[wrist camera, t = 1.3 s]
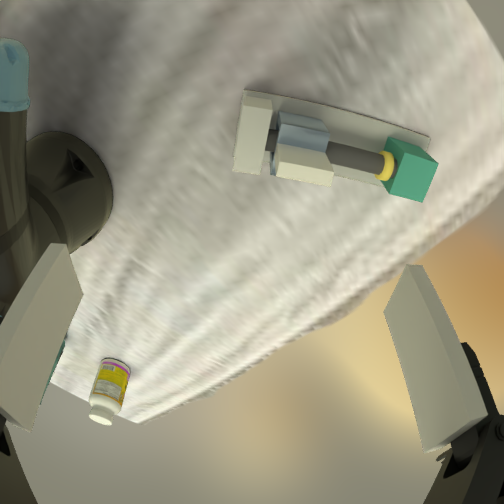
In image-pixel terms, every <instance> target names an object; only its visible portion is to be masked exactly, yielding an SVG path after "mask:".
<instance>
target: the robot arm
mask: <svg viewBox="0 0 504 504" xmlns="http://www.w3.org/2000/svg"><path fill="white" fill-rule="evenodd" d="M28 75H29V55H28V52H27V49H26V48H25V47H24V45H23V44H21V43H20V42H18V41H17V40H13V39H8V38H0V504H38V503H37V501H36V499H35V497H34V495H33V492H32V491H31V488H30V486H29V484H28V481H27V479H26V477H25V474H24V472H23V469H22V467H21V464H20V462H19V459H18V457H17V454H16V451H15V448H14V445H13V443H12V440H11V437H10V434H9V431H8V429H7V427H6V425H5V422H6V419H7V420H8V421H9V422H10V423H12V424H13V425H14V426H15V427H18V428H20V429H23V430H26V431H28V432H31V431H32V428H33V424H34V421H35V418H36V415H37V411H38V408H39V405H40V402H41V399H42V396H43V393H44V390H45V387H46V384H47V382H48V379H49V376H50V373H51V371H52V368H53V365H54V363H55V360H56V357H57V355H58V352H59V350H60V347H61V345H62V342H63V340H64V338H65V335H66V333H67V330H68V328H69V326H70V323H71V321H72V319H73V317H74V314H75V312H76V310H77V308H78V305H79V303H80V301H81V299H82V297H83V292H82V289H81V287H80V284H79V281H78V278H77V275H76V273H75V270H74V267H73V264H72V261H71V258H70V255H69V254H71V253H73V252H74V251H75V250H77V249H78V248H79V247H80V246H83V245H85V244H87V243H88V242H90V241H91V240H92V239H94V238H95V237H96V236H97V234H98V233H99V232H100V230H101V229H102V227H103V226H104V225H105V223H106V221H107V220H108V218H109V215H110V213H111V209H112V201H113V194H112V187H111V182H110V179H109V176H108V173H107V171H106V169H105V167H104V165H103V163H102V162H101V160H100V159H99V157H98V156H97V155H96V153H95V152H94V151H93V150H92V149H91V148H90V147H89V146H88V145H87V144H85V143H84V142H83V141H81V140H80V139H78V138H76V137H74V136H72V135H70V134H67V133H63V132H46V133H42V134H40V135H38V136H36V137H34V138H33V139H31V140H30V141H28V142H27V143H26V125H27V109H28V108H29V106H30V98H29V97H28ZM384 315H385V318H386V321H387V324H388V327H389V330H390V333H391V336H392V339H393V342H394V345H395V348H396V351H397V354H398V358H399V361H400V364H401V368H402V371H403V374H404V378H405V381H406V384H407V388H408V392H409V395H410V399H411V402H412V406H413V410H414V414H415V418H416V422H417V426H418V430H419V434H420V439H421V443H422V448H423V452H424V453H427V452H430V451H434V450H438V449H441V448H443V447H444V446H446V445H447V444H449V443H451V447H452V448H450V449H449V450H447V451H445V452H444V453H442V454H441V455H440V456H438V458H437V459H436V461H439V460H441V459H443V458H445V459H444V461H442V462H441V463H442V466H441V469H440V471H439V473H438V475H437V477H436V479H435V481H434V483H433V486H432V488H431V490H430V492H429V493H428V495H427V497H426V499H425V501H424V503H423V504H504V415H500V414H499V412H498V410H497V408H496V405H495V402H494V399H493V397H492V394H491V391H490V389H489V386H488V383H487V381H486V378H485V377H484V373H483V371H482V368H481V367H480V363H479V361H478V359H477V356H476V354H475V352H474V351H473V350H472V349H471V347H470V346H469V345H468V344H467V342H464V343H460V341H459V339H458V336H457V334H456V332H455V330H454V328H453V325H452V323H451V321H450V319H449V317H448V315H447V313H446V311H445V309H444V306H443V304H442V303H441V300H440V299H439V296H438V294H437V293H436V291H435V289H434V287H433V285H432V283H431V281H430V279H429V278H428V275H427V273H426V272H425V270H424V268H423V266H422V265H409V264H406V267H405V269H404V271H403V273H402V275H401V277H400V280H399V282H398V284H397V286H396V288H395V290H394V292H393V294H392V296H391V298H390V300H389V302H388V304H387V306H386V308H385V310H384Z"/></svg>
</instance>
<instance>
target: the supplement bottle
mask: <svg viewBox="0 0 504 504" xmlns="http://www.w3.org/2000/svg"><path fill="white" fill-rule="evenodd" d="M129 377H130V370H129V368H128V367H127V366H126V365H125V364H123V363H122V362H120V361H117V360H114V359H104V360H102V361H101V363H100V366H99V369H98V372H97V375H96V378H95V381H94V384H93V387H92V390H91V393H90V396H89V403H90V405H91V406H92V409H91V411H90V414H89V417H90V418H91V419H92V420H94V421H96V422H98V423H101V424H104V425H112V422H113V415H115V414H118V413H119V412H120V411H121V407H122V403H123V399H124V395H125V391H126V388H127V384H128V380H129Z"/></svg>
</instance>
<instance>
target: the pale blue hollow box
mask: <svg viewBox="0 0 504 504" xmlns="http://www.w3.org/2000/svg"><path fill="white" fill-rule="evenodd" d="M275 130H279V133H278V137H277V142H276V147H275V152H270V174H271V175H274V176H276V177H281V178H287V179H292V180H298V181H303V182H308V183H313V184H318V185H323V186H328V187H330V186H331V182H332V179H333V176H334V173H335V172H334V170H333V168H332V166H331V164H330V162H329V159H328V157H327V155H326V153H325V152H326V148H327V144H328V141H329V137H330V132H329V131H328V129H327V128H326V126H325V125H324V123H323V122H322V120H320V119H316V118H312V117H307V116H302V115H298V114H293V113H288V112H283V111H279V113H278V117H277V122H276V127H275Z"/></svg>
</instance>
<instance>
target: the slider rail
mask: <svg viewBox="0 0 504 504" xmlns="http://www.w3.org/2000/svg"><path fill="white" fill-rule="evenodd" d="M279 111H283V112H288V113H293V114H298V115H302V116H307V117H312V118H316V119H320V120H322V122H323V123H324V125H325V126H326V128H327V129H328V131H329V132H330V137H329V141H328V144H327V148H326V152H325V153H326V155H327V157H328V159H329V162H330V164H331V166H332V168H333V170H334V172H335V173H334V176H339V177H343V178H348V179H352V180H357V181H361V182H365V183H369V184H373V185H377V186H381V187H385V188H386V190H387V191H388V193H389V194H392V195H396V196H400V197H404V198H407V199H411V200H415V201H419V202H423V200H424V198H425V195H426V193H427V191H428V188H429V186H430V184H431V181H432V179H433V177H434V174H435V172H436V169H437V167H438V163H437V162H436V161H435V160H434V159H433V158H432V157H431V156H429V155H428V154H427V153H426V150H427V148H428V145H429V142H430V138H429V137H427V136H424V135H422V134H419V133H416V132H413V131H411V130H408V129H405V128H402V127H399V126H396V125H393V124H390V123H387V122H384V121H380V120H377V119H374V118H371V117H367V116H364V115H360V114H357V113H353V112H350V111H346V110H342V109H338V108H334V107H330V106H326V105H322V104H318V103H314V102H309V101H305V100H300V99H295V98H290V97H285V96H280V95H275V94H269V93H264V92H258V91H251V90H245V89H244V91H243V96H242V102H241V108H240V114H239V121H238V127H237V133H236V139H235V146H234V152H233V157H235V158H234V165H233V171H236V172H243V173H249V174H255V175H260V172H261V167H262V162H268V163H270V152H275V147H276V142H277V137H278V133H279V130H275V127H276V122H277V117H278V113H279Z"/></svg>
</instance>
